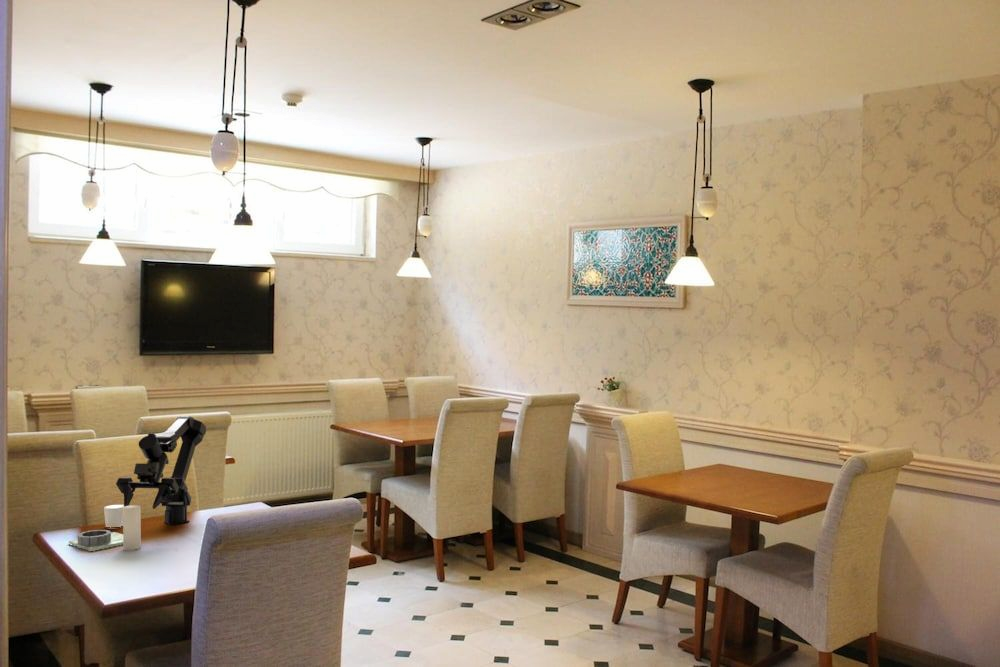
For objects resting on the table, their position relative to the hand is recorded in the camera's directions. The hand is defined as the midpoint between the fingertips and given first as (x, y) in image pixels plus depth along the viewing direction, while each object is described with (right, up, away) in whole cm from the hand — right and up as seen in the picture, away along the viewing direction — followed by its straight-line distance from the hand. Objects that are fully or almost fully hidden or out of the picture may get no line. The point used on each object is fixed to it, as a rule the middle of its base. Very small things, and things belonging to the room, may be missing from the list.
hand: (139, 508), depth 271 cm
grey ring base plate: (-12, -11, +1) cm, 17 cm away
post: (0, -12, -5) cm, 13 cm away
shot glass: (-18, -11, +23) cm, 31 cm away
